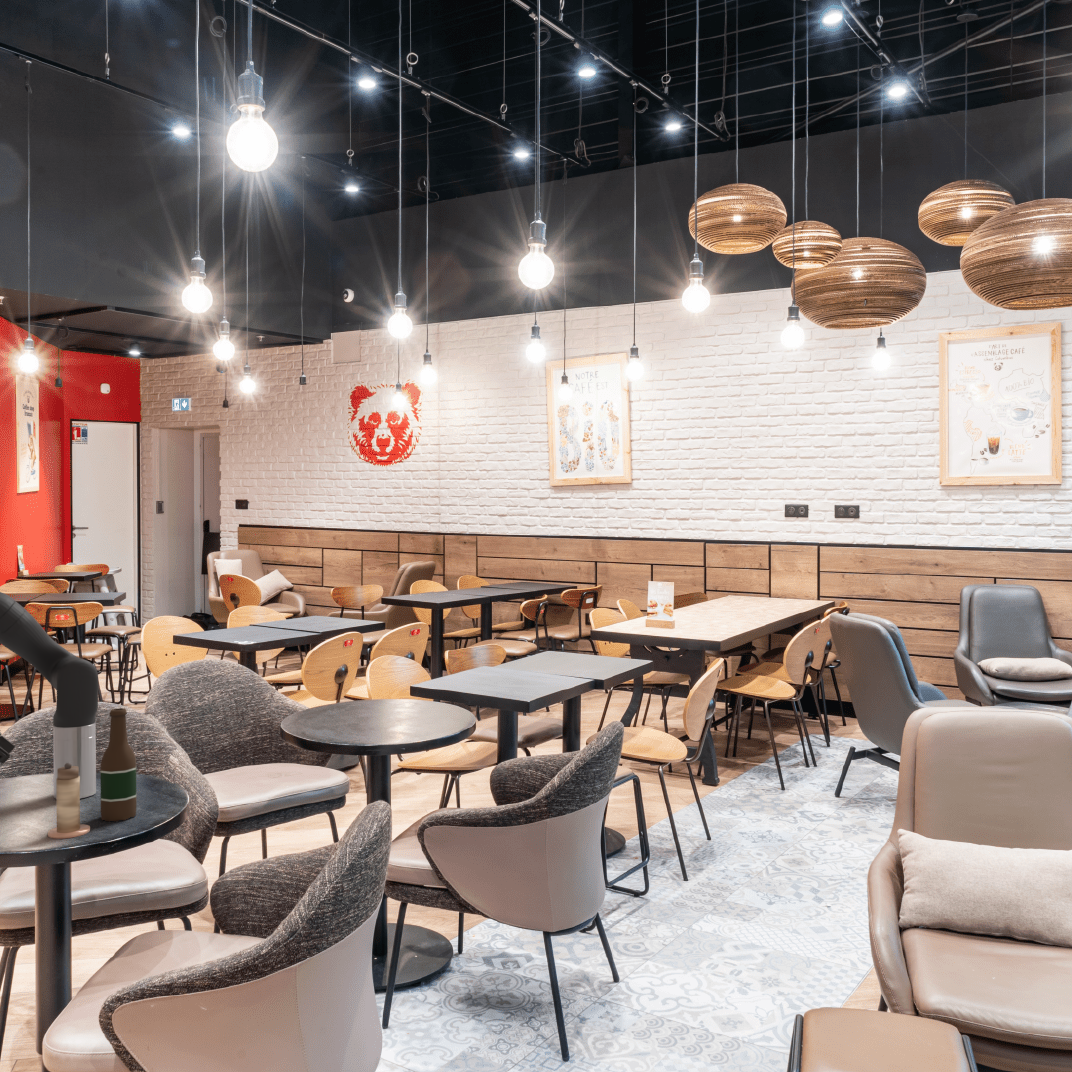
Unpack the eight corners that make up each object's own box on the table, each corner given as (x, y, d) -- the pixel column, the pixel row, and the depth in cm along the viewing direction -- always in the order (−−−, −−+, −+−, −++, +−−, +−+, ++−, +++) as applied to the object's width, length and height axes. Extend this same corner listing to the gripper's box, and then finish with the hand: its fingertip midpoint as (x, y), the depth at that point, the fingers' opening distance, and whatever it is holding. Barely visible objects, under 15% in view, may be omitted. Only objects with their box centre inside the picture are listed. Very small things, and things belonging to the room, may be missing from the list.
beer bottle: (128, 822, 207) (127, 712, 207) (93, 822, 208) (92, 712, 208) (143, 811, 215) (143, 706, 215) (109, 811, 215) (109, 706, 215)
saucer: (58, 827, 204) (58, 824, 204) (96, 826, 204) (96, 823, 204) (40, 839, 196) (40, 836, 196) (80, 838, 196) (80, 835, 196)
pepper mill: (62, 826, 202) (61, 760, 202) (83, 826, 202) (83, 759, 203) (52, 833, 198) (52, 765, 198) (74, 832, 198) (74, 764, 198)
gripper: (-65, 712, 197) (-1, 761, 201) (-79, 725, 184) (-10, 777, 188) (-36, 685, 199) (27, 734, 203) (-47, 695, 186) (20, 748, 190)
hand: (9, 755), depth 196 cm, fingers open, 8 cm apart
